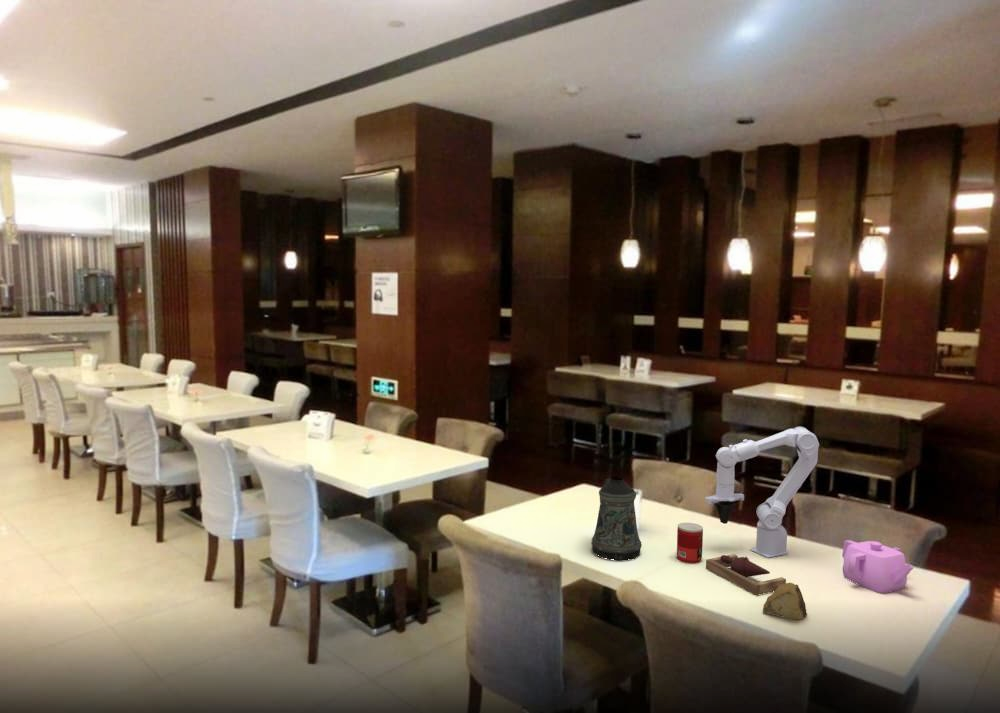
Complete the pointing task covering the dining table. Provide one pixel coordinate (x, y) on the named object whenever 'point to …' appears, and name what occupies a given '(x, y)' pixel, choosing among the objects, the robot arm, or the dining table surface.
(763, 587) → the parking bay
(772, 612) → the rock
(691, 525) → the canned food
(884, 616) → the dining table surface
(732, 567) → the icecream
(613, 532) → the beer stein
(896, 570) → the teakettle
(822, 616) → the dining table surface
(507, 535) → the dining table surface
